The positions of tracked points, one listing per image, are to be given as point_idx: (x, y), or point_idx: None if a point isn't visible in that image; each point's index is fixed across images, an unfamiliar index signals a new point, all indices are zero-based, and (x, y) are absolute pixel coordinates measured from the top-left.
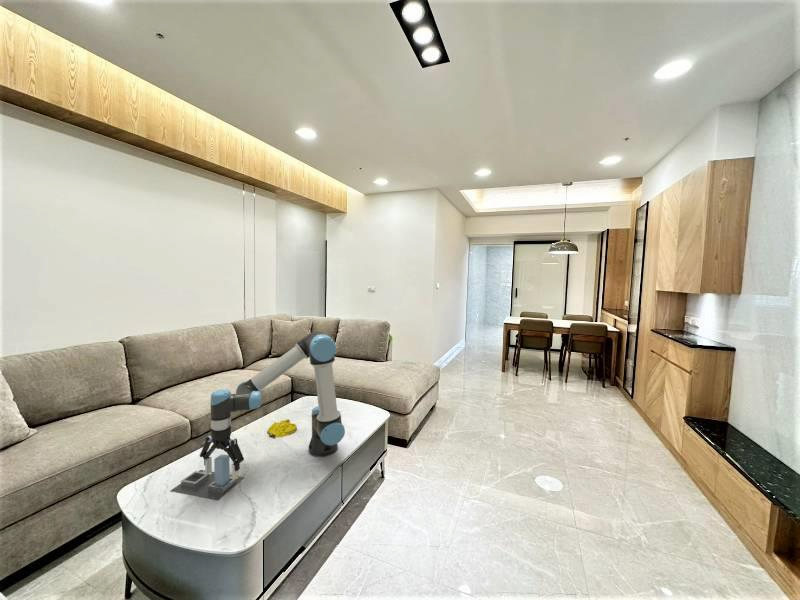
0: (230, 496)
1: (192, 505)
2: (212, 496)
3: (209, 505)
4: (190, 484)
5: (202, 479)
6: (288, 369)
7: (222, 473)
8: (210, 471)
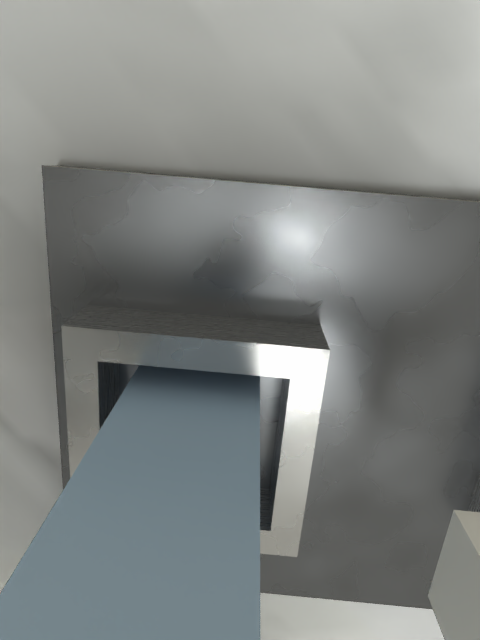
0: (9, 298)
1: (350, 53)
2: (177, 228)
3: (124, 98)
4: None
5: None
6: None
7: (43, 526)
8: (437, 582)
